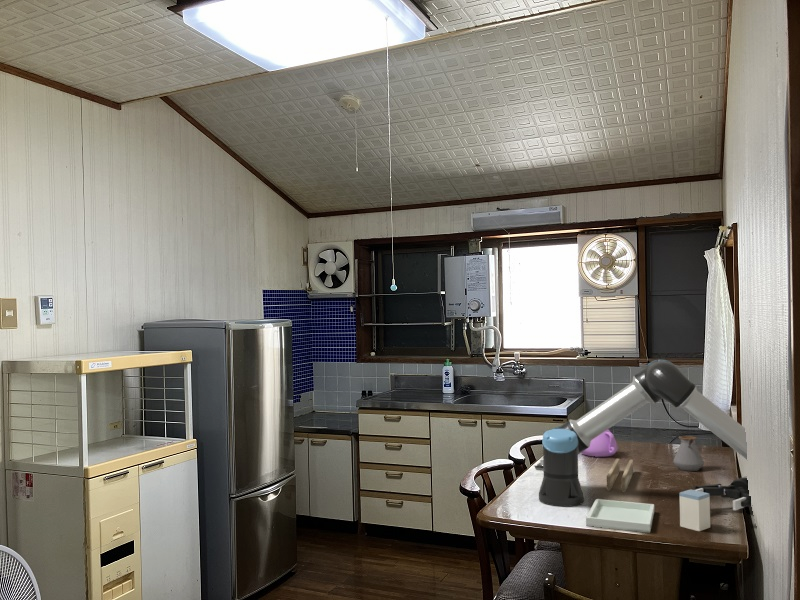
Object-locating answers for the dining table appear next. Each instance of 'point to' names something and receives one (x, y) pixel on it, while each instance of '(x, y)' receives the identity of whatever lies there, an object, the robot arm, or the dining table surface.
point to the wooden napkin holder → (614, 473)
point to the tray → (621, 515)
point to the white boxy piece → (694, 510)
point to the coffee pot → (688, 455)
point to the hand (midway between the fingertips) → (711, 500)
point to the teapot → (602, 445)
